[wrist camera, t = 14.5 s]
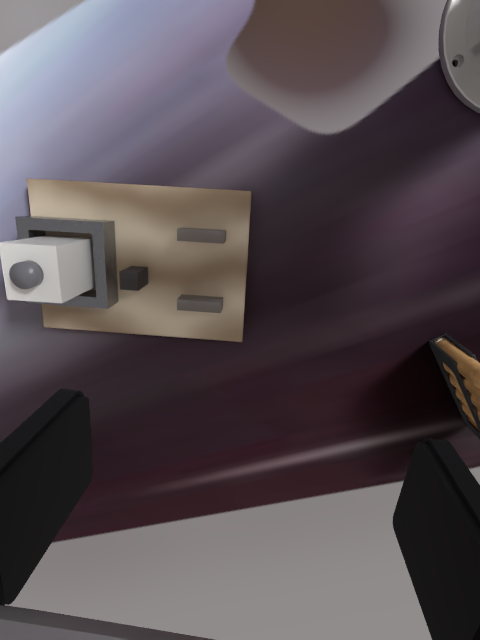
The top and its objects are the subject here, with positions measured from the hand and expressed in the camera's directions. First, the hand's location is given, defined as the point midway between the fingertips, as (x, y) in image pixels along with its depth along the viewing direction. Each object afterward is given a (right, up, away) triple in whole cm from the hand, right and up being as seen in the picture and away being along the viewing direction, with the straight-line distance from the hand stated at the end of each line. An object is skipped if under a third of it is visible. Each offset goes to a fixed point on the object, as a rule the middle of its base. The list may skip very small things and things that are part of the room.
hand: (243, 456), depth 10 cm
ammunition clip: (+22, -2, +27) cm, 35 cm away
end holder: (-15, +10, +24) cm, 30 cm away
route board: (-9, +10, +25) cm, 29 cm away
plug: (-16, +10, +24) cm, 30 cm away
